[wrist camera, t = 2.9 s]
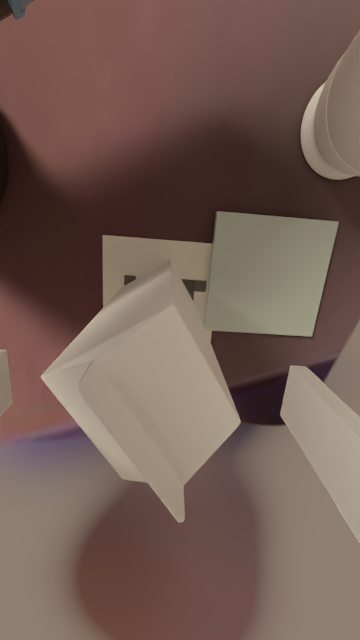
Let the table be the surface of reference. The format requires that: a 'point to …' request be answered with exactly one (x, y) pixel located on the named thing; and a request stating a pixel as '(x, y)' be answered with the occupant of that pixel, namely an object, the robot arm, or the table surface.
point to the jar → (335, 120)
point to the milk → (148, 385)
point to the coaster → (267, 273)
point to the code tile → (156, 265)
